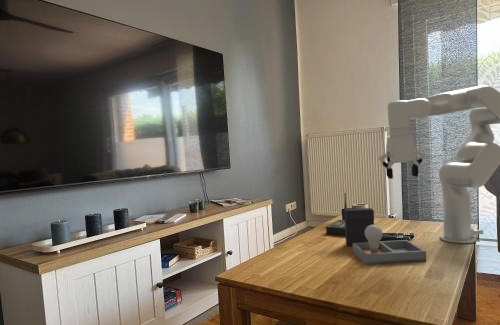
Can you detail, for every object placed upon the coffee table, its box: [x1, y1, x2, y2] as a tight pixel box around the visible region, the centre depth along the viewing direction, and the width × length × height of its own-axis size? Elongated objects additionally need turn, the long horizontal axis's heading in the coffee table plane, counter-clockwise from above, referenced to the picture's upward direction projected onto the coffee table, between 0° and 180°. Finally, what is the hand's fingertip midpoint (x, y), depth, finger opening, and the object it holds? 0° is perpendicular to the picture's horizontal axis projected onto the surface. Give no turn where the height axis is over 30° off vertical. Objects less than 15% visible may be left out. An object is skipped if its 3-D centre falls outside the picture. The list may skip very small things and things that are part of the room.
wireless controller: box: [325, 192, 348, 237], centre depth 162 cm, size 20×14×17 cm
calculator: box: [343, 207, 375, 248], centre depth 137 cm, size 11×4×15 cm, turn 84°
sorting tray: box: [352, 239, 427, 266], centre depth 122 cm, size 21×14×4 cm, turn 90°
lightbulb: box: [365, 224, 384, 253], centre depth 122 cm, size 6×6×11 cm
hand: (402, 177), depth 130 cm, fingers open, 9 cm apart
